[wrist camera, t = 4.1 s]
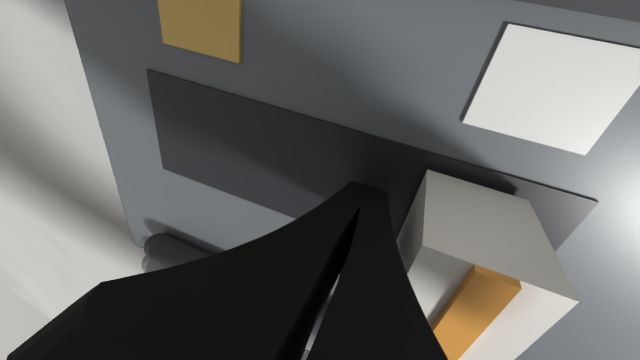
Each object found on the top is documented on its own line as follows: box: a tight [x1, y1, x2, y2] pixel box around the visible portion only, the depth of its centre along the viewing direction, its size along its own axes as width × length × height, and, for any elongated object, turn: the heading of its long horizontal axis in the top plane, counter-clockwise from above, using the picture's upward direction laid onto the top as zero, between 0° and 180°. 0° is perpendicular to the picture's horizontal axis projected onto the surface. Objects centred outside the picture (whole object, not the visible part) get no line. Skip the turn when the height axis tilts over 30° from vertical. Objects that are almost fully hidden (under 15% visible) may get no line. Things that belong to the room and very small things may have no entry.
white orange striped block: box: [396, 169, 579, 360], centre depth 8 cm, size 4×3×4 cm
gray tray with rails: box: [142, 0, 640, 351], centre depth 10 cm, size 17×20×1 cm
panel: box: [64, 0, 640, 360], centre depth 11 cm, size 18×24×2 cm
